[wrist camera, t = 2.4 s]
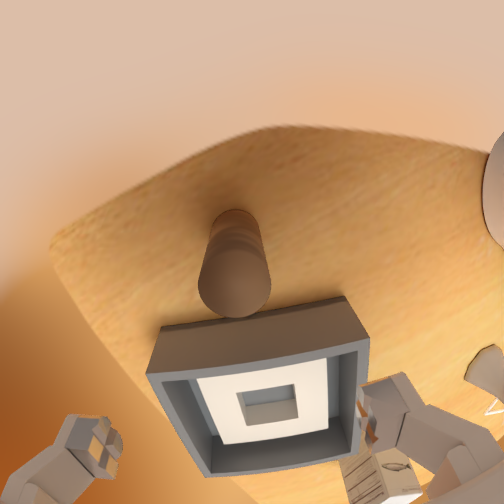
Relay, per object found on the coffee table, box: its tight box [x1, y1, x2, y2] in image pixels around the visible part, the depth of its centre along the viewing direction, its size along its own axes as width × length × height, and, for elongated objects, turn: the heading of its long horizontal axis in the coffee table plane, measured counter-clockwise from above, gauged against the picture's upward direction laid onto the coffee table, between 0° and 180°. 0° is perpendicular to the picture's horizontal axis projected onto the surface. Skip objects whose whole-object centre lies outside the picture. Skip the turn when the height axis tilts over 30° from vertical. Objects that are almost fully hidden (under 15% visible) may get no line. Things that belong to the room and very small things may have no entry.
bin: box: [146, 296, 370, 478], centre depth 29 cm, size 18×18×7 cm
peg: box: [198, 210, 271, 318], centre depth 22 cm, size 4×4×10 cm
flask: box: [464, 345, 504, 404], centre depth 30 cm, size 7×7×10 cm
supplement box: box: [338, 431, 423, 504], centre depth 33 cm, size 7×7×13 cm
